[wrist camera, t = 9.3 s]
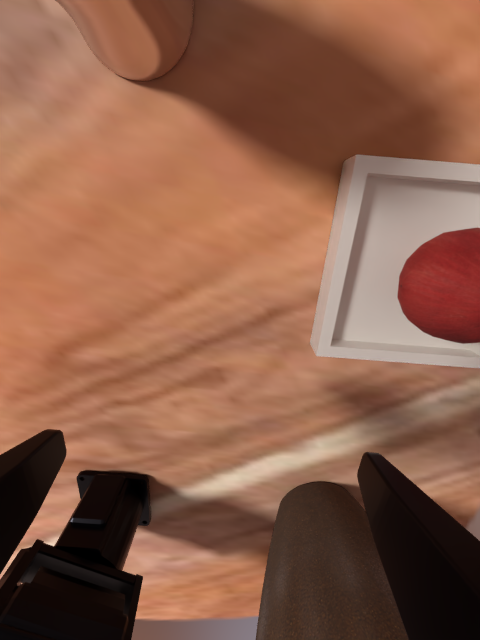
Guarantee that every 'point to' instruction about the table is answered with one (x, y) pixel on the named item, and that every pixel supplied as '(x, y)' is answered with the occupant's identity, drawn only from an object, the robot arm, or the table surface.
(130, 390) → the table surface
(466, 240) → the onion
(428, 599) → the robot arm
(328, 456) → the table surface
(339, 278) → the dish
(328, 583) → the plant pot
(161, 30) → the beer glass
